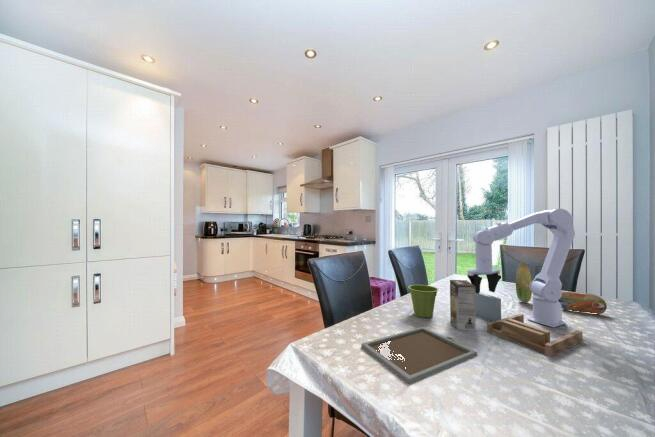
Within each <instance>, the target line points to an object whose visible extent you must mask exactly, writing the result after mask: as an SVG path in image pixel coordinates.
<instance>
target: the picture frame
mask: <svg viewBox="0 0 655 437" xmlns="http://www.w3.org/2000/svg"><path fill="white" fill-rule="evenodd" d="M388 341H391V342H390V344H389V345H388V344H387V345H388V346H389V347H388V348H389V349H390V350H391V351H390V354H392V353H393V355H394V356H395V357H396V358H395V357H394V356H392V355H391V357H392V358H391V357H389V356H388V357H389V358H391V359H392V360H391V359H390V360H388V359H387V358H385V357H384V356H383V355H381V354H380V350H379V348H380V347H379V346H380V344H381V345H383V344H382V343H385V342H386V343H387V342H388ZM378 347H379V348H378ZM381 348H382V347H381ZM381 348H380V349H381ZM384 348H385V347H384ZM361 349H363V350H364V351H366V352H367V353H368V354H369V353H370V355H371V356H372V357H373V358H374V359H376V360H377V361H378V360H379V363H381V362H382V363H383V364H382V363H381V364H382V365H383V366H385V365H386V366H387V367H388V368H387V367H386V366H385V367H386V368H387V369H389V370H390V369H391V370H392V371H391V370H390V371H391V372H392V373H394V374H395V373H396V374H397V375H396V374H395V375H396V376H398V377H399V378H400V379H402V380H403V381H404V380H405V381H406V383H407V384H409V385H410V384H413V383H415V382H417V381H419V380H421V379H424V378H426V377H428V376H432V375H433V374H436V373H438V372H441V371H444V370H446V369H449V368H450V367H452V366H455V365H457V364H460V363H462V362H464V361H467V360H470V359H472V358H473V357H476V356H478V352H477V351H476V350H474V349H472V348H470V347H468V346H466V345H464V344H462V343H460V342H458V341H456V339H455V338H454V337H452V336H446V335H442V334H439V333H437V332H436V331H433V330H432V329H430V328H427V327H425V326H419V327H416V328H414V329H410V330H406V331H403V332H398V333H396V334H390V335H387V336H384V337H381V338H378V339H373V340H369V341H366V342H362V343H361ZM376 350H377V351H376ZM378 350H379V351H378ZM393 351H394V352H393ZM395 354H397V355H398V354H401V355H402V356H403V357H404V358H405V361H404V359H403V360H400V359H399V360H397V359H398V357H399V358H401V359H402V357H400V356H398V357H397V356H396V355H395ZM394 359H395V360H394ZM402 361H403V362H402ZM405 367H406V369H405ZM405 381H404V382H405Z"/></svg>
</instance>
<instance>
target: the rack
mask: <svg viewBox="0 0 655 437" xmlns="http://www.w3.org/2000/svg"><path fill="white" fill-rule="evenodd" d="M524 316H525V314H523V313H518V314H514V315H511V316H507V317H505V318H504V317H503V318H501V319H500V320H496V321H490V322H488V323H486V333H489V334H492V335H495V336H498V337H500V338H502V339H505V340H508V341H511V342H513V343H515V344H518V345H521V346H524V347H526V348H529V349H531V350H534V351H535V352H536V351H537V352H539V353H542V354H544V355H545V356H548V357H553V356H554V355H557V354H559V353H562V352H563V351H565V350H567V349H570V348H571V347H573V346H575V345H578V344H579V343H581V342H583V339H584V338H583V331H582V330H577V329H576V330H574V331H572V332H569V333H568V334H565V335H563V336H560V337H558V338H555V339H554V340H550V342H549V343H546V344H545V347H543V346H540V345H538V344H535V343H532V342H529V341H527V340H524V339H521V338H519V337H516V336H513V335H510V334H508V333H505V332H502V321H507V320H508V319H513V320H516V321H519V322H522V323H525V321H524V320H525V317H524Z"/></svg>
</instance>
